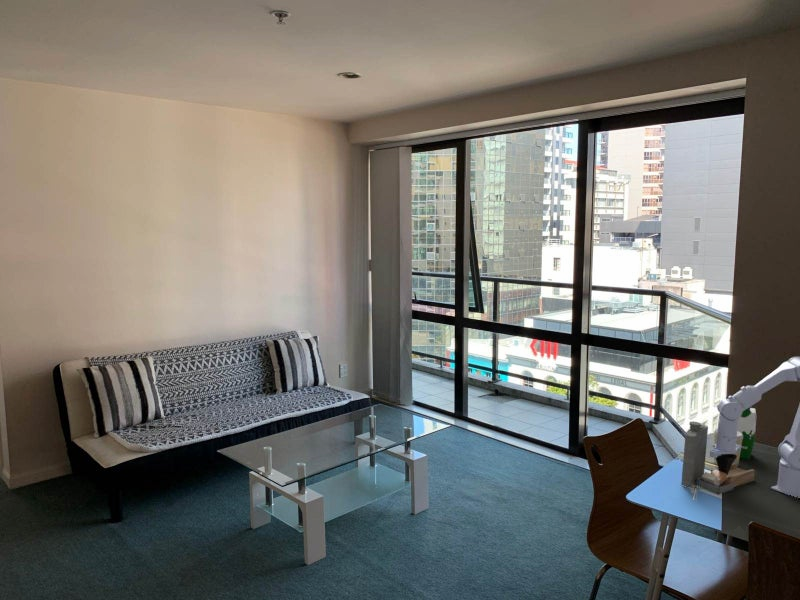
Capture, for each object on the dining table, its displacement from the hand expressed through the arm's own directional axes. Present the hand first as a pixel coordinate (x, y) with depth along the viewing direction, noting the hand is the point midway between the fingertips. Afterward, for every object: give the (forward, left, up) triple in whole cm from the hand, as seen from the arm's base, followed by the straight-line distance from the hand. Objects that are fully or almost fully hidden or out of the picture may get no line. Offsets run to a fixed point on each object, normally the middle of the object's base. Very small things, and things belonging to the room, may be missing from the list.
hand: (723, 474), depth 199 cm
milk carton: (+13, -33, -3) cm, 35 cm away
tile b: (0, +6, 0) cm, 6 cm away
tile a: (0, +3, -1) cm, 3 cm away
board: (0, -6, -3) cm, 6 cm away
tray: (-1, +5, -3) cm, 6 cm away
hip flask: (+7, +7, -3) cm, 10 cm away
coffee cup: (+10, -18, -3) cm, 21 cm away
